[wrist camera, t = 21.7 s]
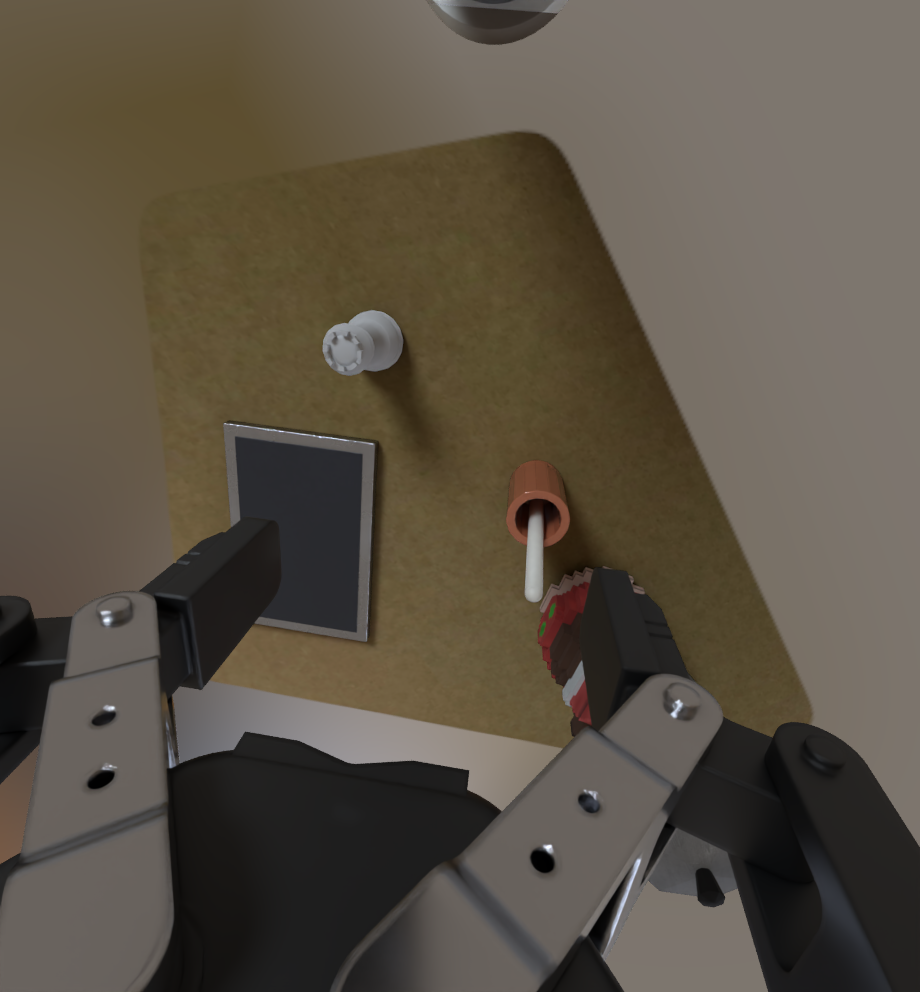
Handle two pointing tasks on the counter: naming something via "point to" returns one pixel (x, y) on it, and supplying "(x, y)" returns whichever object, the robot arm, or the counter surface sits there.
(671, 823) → the robot arm
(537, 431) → the counter surface
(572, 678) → the cake
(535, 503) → the stylus
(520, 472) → the pen cup
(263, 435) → the tablet
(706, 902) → the coffeepot
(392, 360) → the rook chess piece
